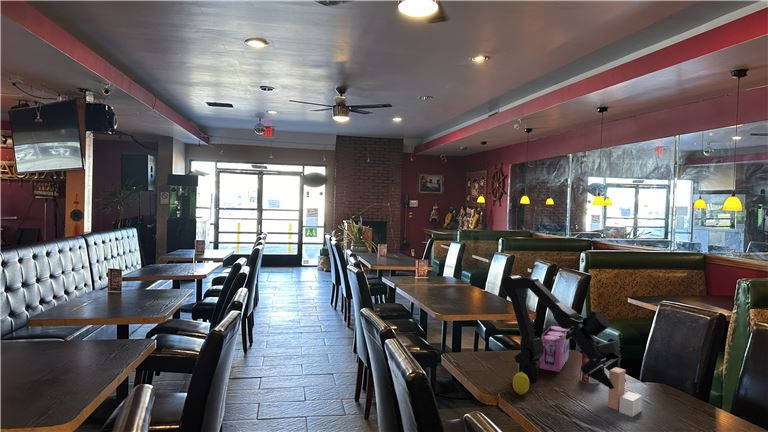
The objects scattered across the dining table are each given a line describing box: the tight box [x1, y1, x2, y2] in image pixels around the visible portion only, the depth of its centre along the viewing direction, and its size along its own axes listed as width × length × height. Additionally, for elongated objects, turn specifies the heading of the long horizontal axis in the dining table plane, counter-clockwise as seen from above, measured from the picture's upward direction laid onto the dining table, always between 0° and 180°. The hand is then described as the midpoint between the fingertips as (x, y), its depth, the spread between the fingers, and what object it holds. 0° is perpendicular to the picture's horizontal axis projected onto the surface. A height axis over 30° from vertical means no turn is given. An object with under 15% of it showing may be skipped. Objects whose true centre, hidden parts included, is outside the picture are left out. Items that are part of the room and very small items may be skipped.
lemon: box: [512, 372, 530, 396], centre depth 163 cm, size 6×6×8 cm
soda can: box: [579, 353, 601, 385], centre depth 176 cm, size 7×7×12 cm
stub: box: [607, 367, 626, 411], centre depth 154 cm, size 3×5×12 cm, turn 131°
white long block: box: [617, 391, 643, 417], centre depth 156 cm, size 18×7×6 cm, turn 41°
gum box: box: [539, 323, 571, 373], centre depth 197 cm, size 24×8×14 cm, turn 150°
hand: (619, 385), depth 153 cm, fingers open, 9 cm apart
